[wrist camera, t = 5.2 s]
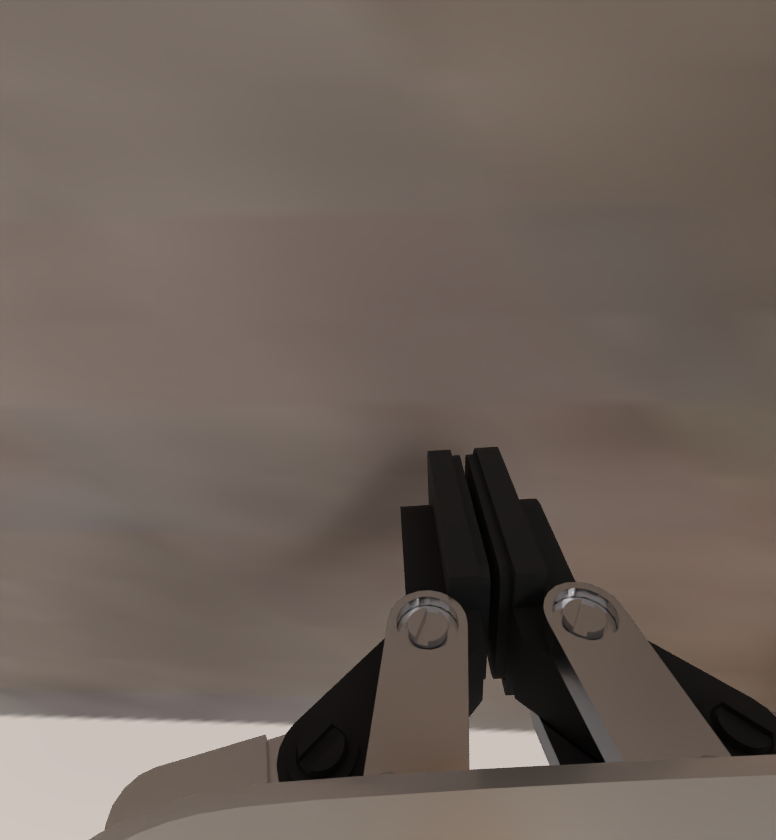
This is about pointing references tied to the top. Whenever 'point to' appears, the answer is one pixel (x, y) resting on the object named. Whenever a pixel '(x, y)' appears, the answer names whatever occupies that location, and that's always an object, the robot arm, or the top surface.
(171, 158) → the top surface
